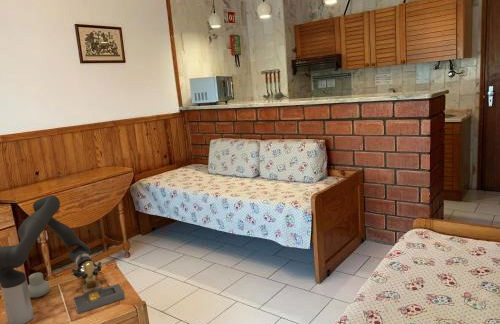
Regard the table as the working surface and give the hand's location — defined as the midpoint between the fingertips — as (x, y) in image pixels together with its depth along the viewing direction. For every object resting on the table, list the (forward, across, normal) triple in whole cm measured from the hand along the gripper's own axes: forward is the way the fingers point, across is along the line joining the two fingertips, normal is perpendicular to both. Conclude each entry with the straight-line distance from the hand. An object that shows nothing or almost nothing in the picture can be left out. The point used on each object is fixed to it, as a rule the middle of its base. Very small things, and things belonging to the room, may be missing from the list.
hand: (90, 275), depth 185 cm
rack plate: (+10, +1, +9) cm, 13 cm away
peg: (-3, 0, +7) cm, 7 cm away
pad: (-3, 0, +9) cm, 9 cm away
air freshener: (-16, -22, +9) cm, 28 cm away
